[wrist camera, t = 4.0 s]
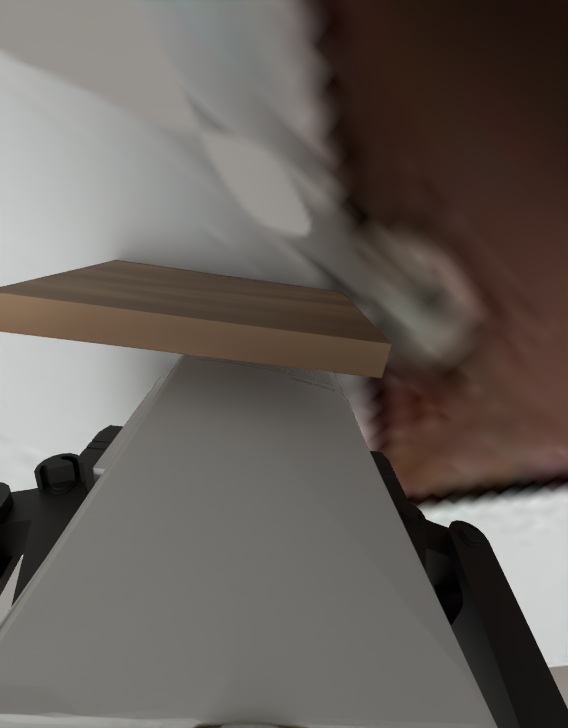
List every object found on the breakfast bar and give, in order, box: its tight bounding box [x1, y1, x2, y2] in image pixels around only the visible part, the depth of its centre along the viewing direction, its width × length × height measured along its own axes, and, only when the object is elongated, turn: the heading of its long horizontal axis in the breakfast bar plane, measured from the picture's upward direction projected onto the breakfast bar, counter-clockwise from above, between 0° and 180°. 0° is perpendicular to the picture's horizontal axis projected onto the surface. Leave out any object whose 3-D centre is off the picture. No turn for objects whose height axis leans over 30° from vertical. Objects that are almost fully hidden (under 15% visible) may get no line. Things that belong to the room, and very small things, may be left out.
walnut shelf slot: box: [0, 260, 392, 378], centre depth 16 cm, size 13×12×8 cm
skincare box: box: [0, 354, 498, 728], centre depth 12 cm, size 8×7×16 cm
